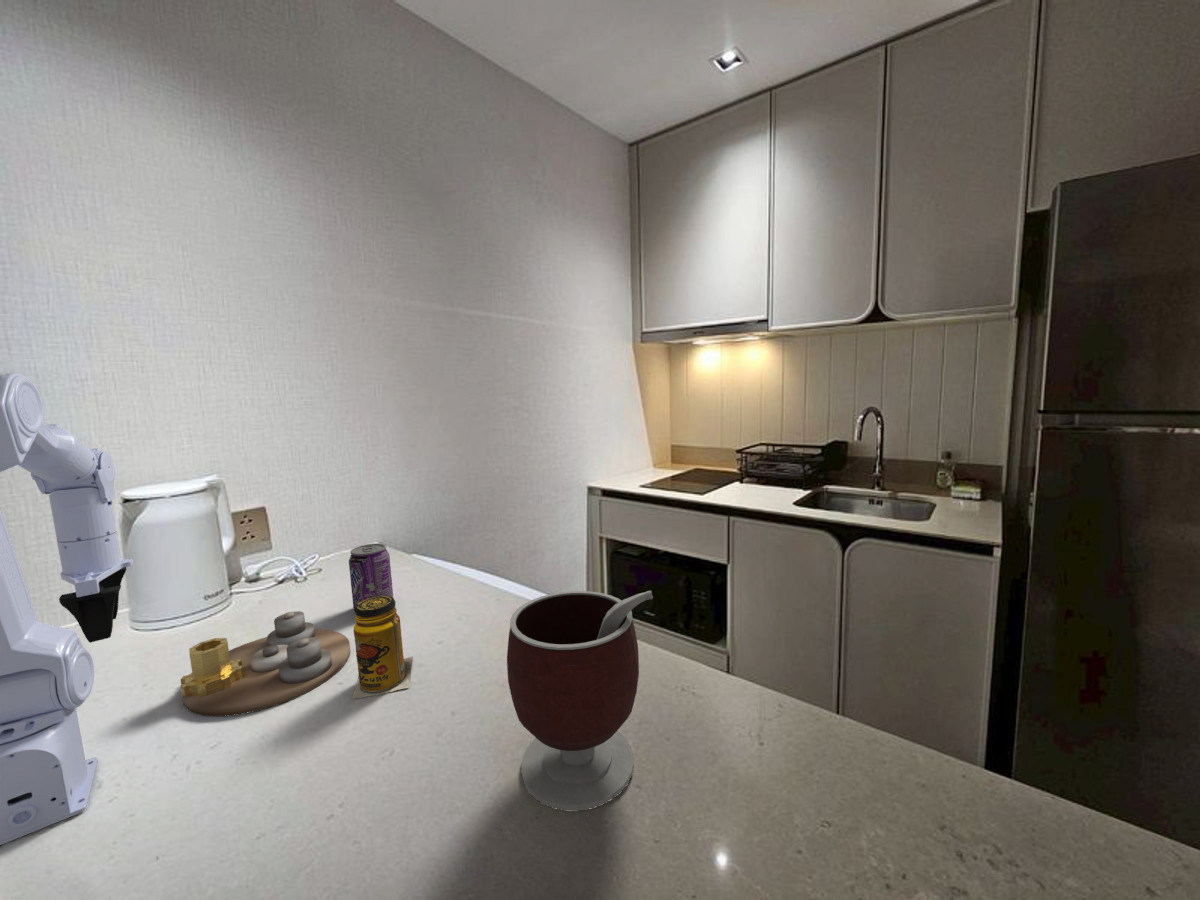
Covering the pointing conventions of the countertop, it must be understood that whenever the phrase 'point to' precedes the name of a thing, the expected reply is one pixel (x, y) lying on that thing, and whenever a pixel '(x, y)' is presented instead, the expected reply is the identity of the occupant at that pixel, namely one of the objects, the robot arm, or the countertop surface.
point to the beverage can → (370, 572)
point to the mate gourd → (575, 694)
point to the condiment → (379, 648)
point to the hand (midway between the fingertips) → (103, 629)
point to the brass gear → (210, 668)
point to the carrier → (277, 668)
